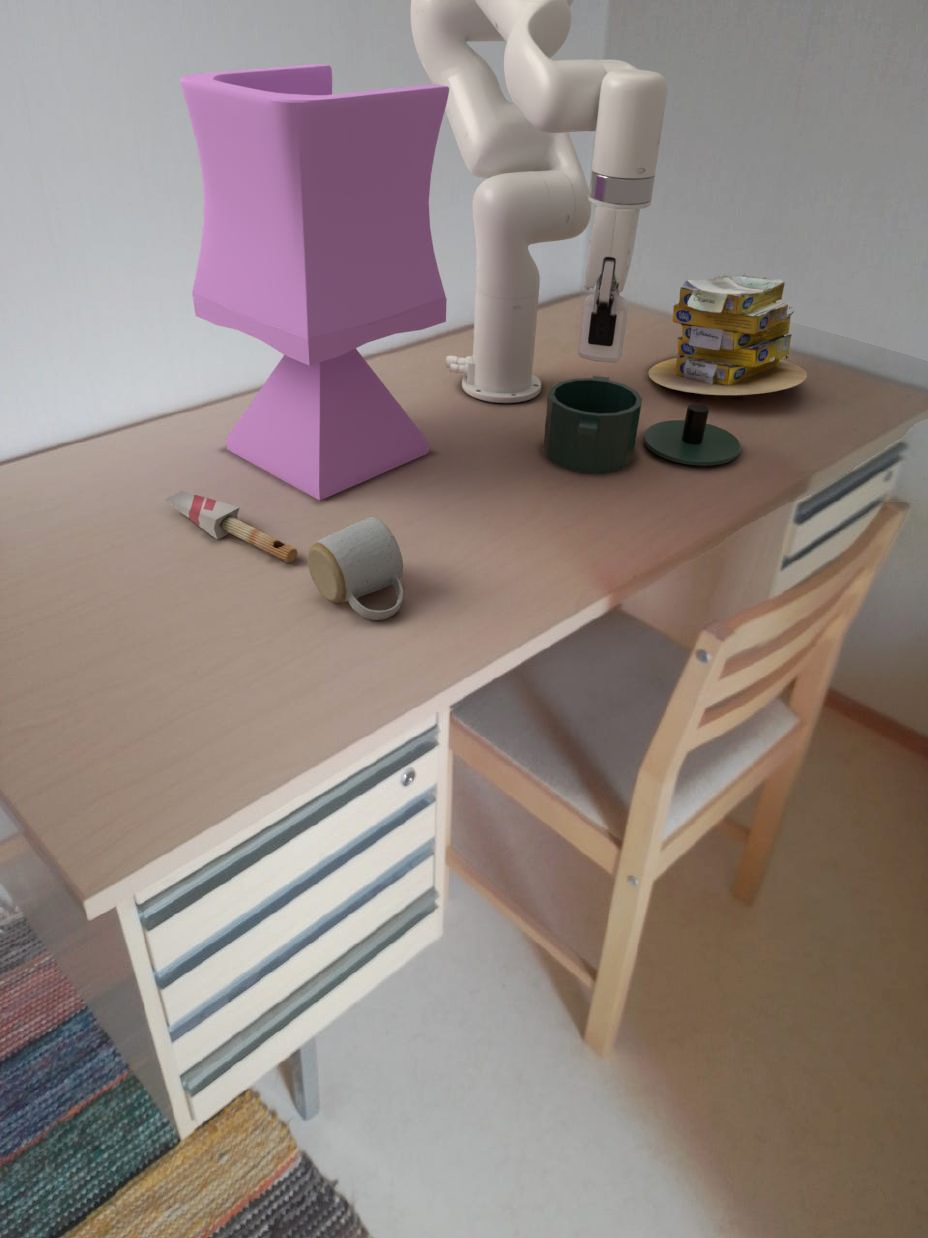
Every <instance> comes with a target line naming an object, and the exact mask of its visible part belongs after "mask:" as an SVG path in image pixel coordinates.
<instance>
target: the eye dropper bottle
mask: <svg viewBox="0 0 928 1238" xmlns="http://www.w3.org/2000/svg"><path fill="white" fill-rule="evenodd" d="M615 286H616V285H612V286H611V289H614V290H615ZM600 288H601V284H600ZM610 298H612V299H613V296H611V295H610ZM594 300H595V292H592V293H590V294H589V295H587V296H586V298H585V300H584V302H583V309H582V315H581V316H582V317H581V325H580V332H579V333H580V334H579V341H578V342H579V343H578V356H579V357H580V358H582V359H585V360H588V361H593V362H599V363H617V362H619V361H620V360H621V358H622V355H623V349H624V342H625V334H626V327H627V319H628V314H629V313H628V312H629V302H628V300H627V299H626V298H625V297H624V296H622V295H620V294H619V295H617V302H616V309H615V315H617V317H616V325H615V332H614V339H613V345H612V346H601V345H593V344H589V343H588V337H589V328H590V320H591V313H592V312H593V308H594Z"/></svg>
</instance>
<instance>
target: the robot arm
mask: <svg viewBox="0 0 928 1238" xmlns="http://www.w3.org/2000/svg"><path fill="white" fill-rule="evenodd" d="M573 2H574V0H410V16H409V17H410V28H411V34H412V40H413V43H414V48H415V50H416V54H417V56H418V58H419V61H420V63H421V65H422V67H423V69H424V71H425V72H426V74H427V76H428V78H429V80H430V81H431V84H438V85H443V86H448V87H449V95H448V100H447V104H446V108H445V113H446V117H447V119H448V122H449V124H450V128H451V130H452V133H453V136H454V139H455V141H456V144H457V148H458V150H459V153H460V155H461V157H462V160H463V163H464V165H465V166H466V168H467V170H468V171H469V172H470V173H471V174H472V175H473V176H475V177H478V178H482V179H485V180H484V181H482V182H481V183H480V184H479V185H478V186H477V188H476V190H475V191H474V194H473V196H472V206H471V207H472V209H471V210H472V211H471V212H472V221H473V227H474V229H473V230H474V237H475V251H476V254H475V255H476V270H475V271H476V273H475V274H476V275H475V276H476V277H475V297H474V299H475V301H474V305H475V306H474V322H473V323H474V324H473V344H472V345H473V346H472V355H466V357H461V356H459V355H450V354H447V356H446V359H445V368H448V369H449V373H451V374H452V373H453V374H463V376H462V379H461V389H462V390H463V391H464V392H465V393H466V394H467V395H469V396H470V397H473V398H475V399H478V400H480V401H485V402H489V403H496V404H515V403H516V404H517V403H522V402H526V401H529V400H532V399H534V398H536V397H537V396H538V395H539V394H540V393H541V391H542V381H541V380H540V379H539V377H538V376H536V374H534V373H533V369H534V358H535V357H534V356H535V345H536V344H535V343H536V332H537V322H538V320H537V319H538V309H539V297H540V286H541V283H540V282H541V278H540V277H541V276H540V270H539V268H538V266H537V263H536V262H535V260H534V258H533V256H532V255H531V252H530V250H529V246H531V245H534V244H538V243H549V242H559V241H564V240H570V239H574V238H576V237H578V236H580V235H581V234H582V233H584V231H585V230H586V229H587V227H588V225H589V223H590V220H591V216H592V204H593V205H595V210H594V214H593V220H592V225H591V233H590V240H589V249H588V256H587V264H586V272H585V277H584V286H583V287H584V288H585V290H586V291H590V289H594V288H595V291H594V293H595V300H594V308H593V312H592V313H591V320H590V328H589V337H588V343H589V344H593V345H601V346H612V345H613V339H614V332H615V325H616V317H617V315H615V309H616V302H617V295H620V293H622V292H624V288H625V285H626V282H627V279H628V275H629V272H630V268H631V263H632V259H633V254H634V248H635V245H636V238H637V231H638V224H639V217H640V210H641V209H646V208H648V207H650V206H651V205H652V198H653V192H654V186H655V185H654V184H655V179H656V173H657V165H658V158H659V151H660V145H661V137H662V130H663V124H664V117H665V111H666V104H667V96H668V81H667V79H666V77H665V76H664V75H662V73H660V72H658V71H657V72H656V71H652V70H648V69H647V70H646V69H638V68H637V67H635V66H634V65H633V64H631V63H629V62H628V61H624V60H620V59H562V60H561V59H559V60H554V59H551V58H552V57H554V56H555V55H556V54H557V53H558V52H559V50H560V49H562V47H563V45H564V43H565V42H566V41H567V38H568V36H569V33H570V30H571V25H572V12H571V6H572V5H573ZM468 42H505V43H506V45H505V48H504V54H503V55H504V56H503V72H504V73H503V74H504V79H505V80H504V81H505V85H506V89H507V92H508V95H509V97H510V99H511V100H512V102H510V101H509V100H508V99H507V98H506V97H505V95H504V94H503V93H504V92H503V91H502V89H501V86H500V83H499V80H498V77H497V74H496V73H495V72H494V70H493V69H492V67H491V66H490V64H489V63H488V62H487V61H486V60H485V59H484V58H483V57H482V55H480V54H479V53H478V52H477V51H475V50H474V49H473V48H472V47H471V46H470V45H468ZM578 132H595V137H594V144H593V146H594V147H593V154H592V163H591V171H590V173H591V174H590V181H589V185H588V181H587V178H586V176H585V173H584V170H583V168H582V164H581V163H580V159H579V157H578V154H577V151H576V149H575V146H574V143H573V141H572V138H571V135H570V133H578ZM600 284H601V288H600ZM612 285H616V286H615V290H614V289H611V286H612ZM610 295H611V296H613V299H612V298H610Z"/></svg>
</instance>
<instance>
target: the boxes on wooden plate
mask: <svg viewBox="0 0 928 1238" xmlns="http://www.w3.org/2000/svg"><path fill="white" fill-rule="evenodd" d="M785 284H786V281H784V280H782V279H780V278H777V279H770V278H767V277H759V276H749V275H746V273H745V272H744V273H743V274H742V275H741V274H736V275H731V274H727V275H726V274H725V273H724V274H723V275H721V276H720V275H717V277H716V276H715V277H713V278H710V279H692V278H687V279H686V280H685V281H684V282H683V284H682V286H680V289H679V301H678V303H675V304H673V308H672V309H673V310H672V322H673V323H676V324H678V325H681V328H682V330H681V332H682V333H681V335H682V336H678V337H677V340H676V341H677V344H676V353H677V355H678V356H677V357H674V358H670V359H665V360H663V361H661V362H659V363H657V364H655V365H653V366H652V367H651V368H650V369H649V370H648V377H649V378H650V380H652V381H653V382H654V383H656V384H657V385H660V386H663V387H665V388H667V389H671V390H675V391H680V392H684V393H694V394H699V395H700V394H701V395H714V396H736V397H737V398H740V396H746V395H747V396H748V395H760V394H766V393H774V392H778V391H782V390H788V389H790V388H794V387H796V386H798V385H800V384H802V383H803V382H805V380H806V379H807V377H808V373H807V371H806V370H805V369H804V368H802V366H800V365H797V364H796V363H793V362H791V361H787V360H788V358H789V353H790V347H791V340H792V334H790V325H791V318H792V317H791V316H792V315H793V314H794V312H795V310H793V311H792V312H791V313H788V309H789V310H790V309H793V307H792V306H789V304H788V303H785V302H784V301H782V299H783V295H784V290H785V286H786V285H785ZM783 357H785V359H786V360H784V359H781V358H783Z"/></svg>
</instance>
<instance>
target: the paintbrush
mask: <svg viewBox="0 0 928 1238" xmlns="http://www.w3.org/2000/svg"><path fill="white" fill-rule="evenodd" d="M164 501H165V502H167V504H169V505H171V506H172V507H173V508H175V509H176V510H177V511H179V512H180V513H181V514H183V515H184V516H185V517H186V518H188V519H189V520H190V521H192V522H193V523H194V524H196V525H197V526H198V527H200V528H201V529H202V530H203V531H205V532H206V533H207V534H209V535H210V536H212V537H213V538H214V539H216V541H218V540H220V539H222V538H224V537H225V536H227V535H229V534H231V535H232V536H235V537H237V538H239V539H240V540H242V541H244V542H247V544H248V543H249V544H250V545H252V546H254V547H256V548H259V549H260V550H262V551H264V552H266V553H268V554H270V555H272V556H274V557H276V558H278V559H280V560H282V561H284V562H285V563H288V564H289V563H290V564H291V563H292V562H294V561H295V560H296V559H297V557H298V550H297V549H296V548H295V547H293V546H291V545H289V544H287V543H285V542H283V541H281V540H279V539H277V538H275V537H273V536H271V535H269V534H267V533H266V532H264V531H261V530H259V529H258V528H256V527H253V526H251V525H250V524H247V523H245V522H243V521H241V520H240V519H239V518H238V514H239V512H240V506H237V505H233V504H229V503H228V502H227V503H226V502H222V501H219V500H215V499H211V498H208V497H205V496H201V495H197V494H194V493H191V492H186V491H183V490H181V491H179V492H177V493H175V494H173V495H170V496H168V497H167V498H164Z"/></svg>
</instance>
